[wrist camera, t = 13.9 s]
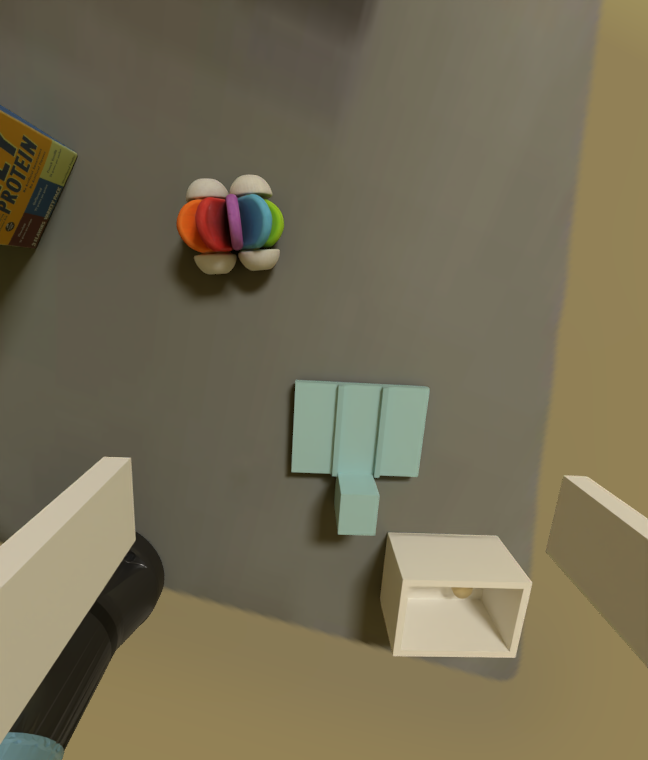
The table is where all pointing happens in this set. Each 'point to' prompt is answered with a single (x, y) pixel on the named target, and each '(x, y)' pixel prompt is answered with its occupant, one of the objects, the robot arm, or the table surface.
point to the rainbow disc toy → (231, 224)
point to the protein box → (28, 179)
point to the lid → (358, 441)
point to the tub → (452, 596)
